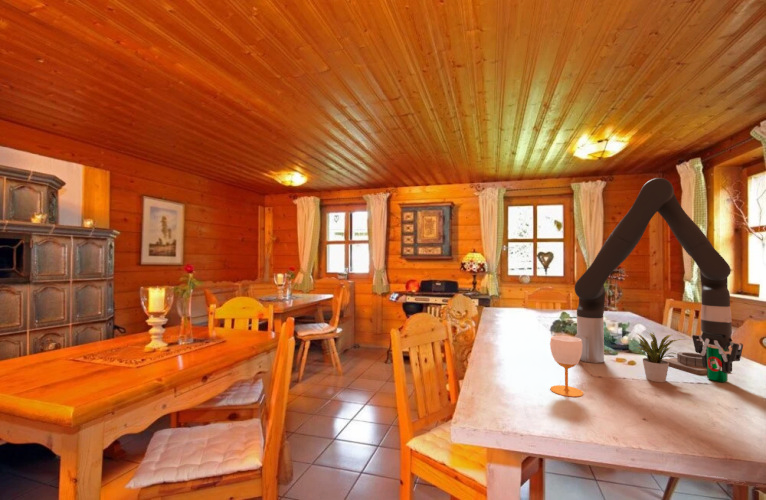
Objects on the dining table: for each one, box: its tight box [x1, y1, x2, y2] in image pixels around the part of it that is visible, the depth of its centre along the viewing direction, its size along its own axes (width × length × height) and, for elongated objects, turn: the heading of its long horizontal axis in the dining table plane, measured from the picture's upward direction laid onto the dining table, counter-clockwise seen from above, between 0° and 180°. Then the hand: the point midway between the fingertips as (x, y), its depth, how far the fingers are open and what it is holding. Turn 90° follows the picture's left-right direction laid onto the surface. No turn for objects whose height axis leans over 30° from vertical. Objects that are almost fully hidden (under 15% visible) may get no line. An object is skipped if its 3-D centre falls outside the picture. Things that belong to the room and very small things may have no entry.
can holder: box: [662, 351, 707, 376], centre depth 133 cm, size 14×14×4 cm
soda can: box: [706, 344, 729, 384], centre depth 119 cm, size 5×5×12 cm
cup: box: [549, 335, 584, 398], centre depth 109 cm, size 9×9×16 cm
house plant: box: [634, 330, 686, 383], centre depth 119 cm, size 14×14×16 cm
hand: (716, 369), depth 119 cm, fingers open, 5 cm apart
